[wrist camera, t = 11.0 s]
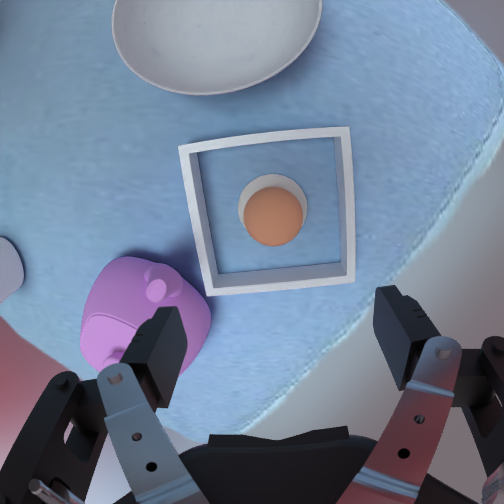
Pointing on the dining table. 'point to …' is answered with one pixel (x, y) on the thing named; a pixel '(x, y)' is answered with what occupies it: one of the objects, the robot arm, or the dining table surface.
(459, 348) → the robot arm
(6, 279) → the beverage can
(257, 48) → the chinaware
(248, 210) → the ball
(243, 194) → the disc
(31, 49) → the dining table surface
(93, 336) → the teapot
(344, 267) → the grey square frame
